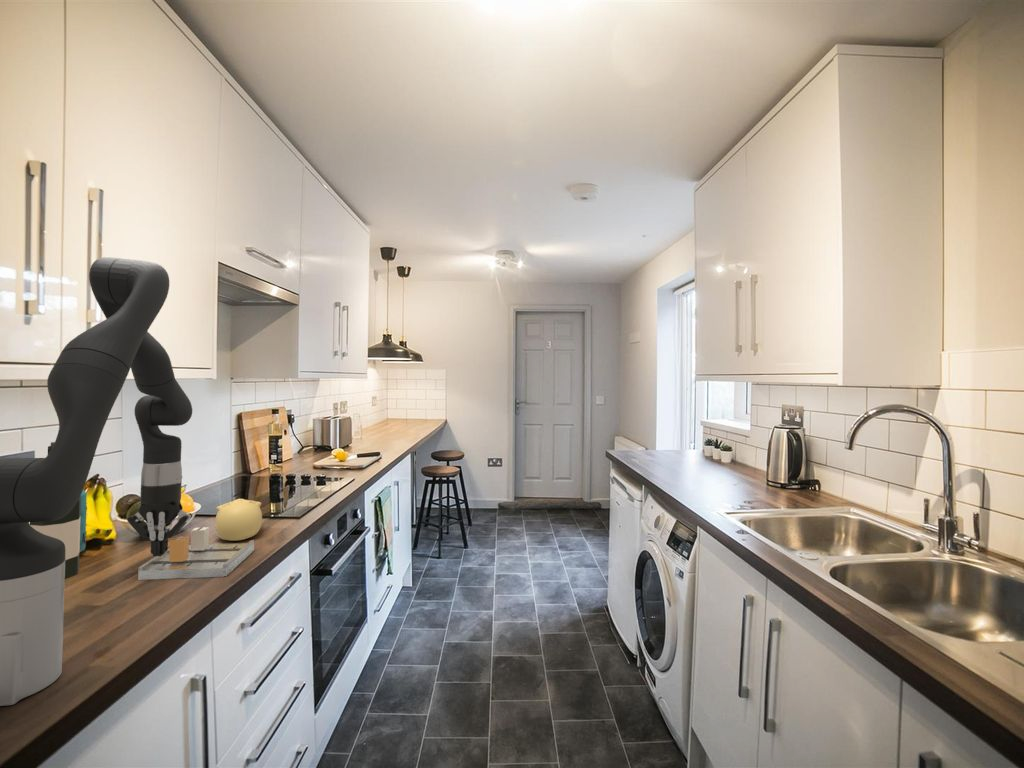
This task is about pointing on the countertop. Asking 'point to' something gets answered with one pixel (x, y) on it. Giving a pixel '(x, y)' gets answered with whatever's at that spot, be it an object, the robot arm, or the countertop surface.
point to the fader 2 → (199, 538)
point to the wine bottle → (65, 534)
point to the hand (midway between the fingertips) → (159, 555)
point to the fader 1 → (179, 549)
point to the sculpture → (238, 519)
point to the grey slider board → (198, 562)
